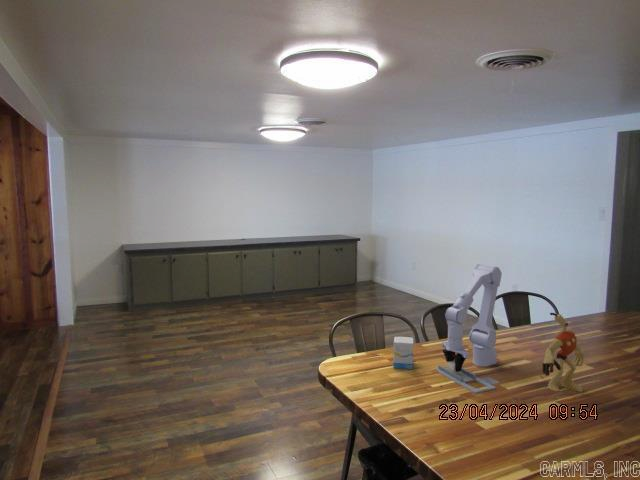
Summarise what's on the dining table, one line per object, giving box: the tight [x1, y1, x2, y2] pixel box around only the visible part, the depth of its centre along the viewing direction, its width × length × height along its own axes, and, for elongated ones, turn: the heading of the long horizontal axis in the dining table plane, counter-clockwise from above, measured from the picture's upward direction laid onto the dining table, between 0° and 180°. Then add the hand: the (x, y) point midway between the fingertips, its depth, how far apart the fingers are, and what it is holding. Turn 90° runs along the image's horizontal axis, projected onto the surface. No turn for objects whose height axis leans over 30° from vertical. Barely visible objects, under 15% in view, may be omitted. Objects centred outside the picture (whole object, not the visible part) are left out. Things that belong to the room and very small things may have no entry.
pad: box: [479, 376, 501, 385], centre depth 173 cm, size 5×6×2 cm
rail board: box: [435, 364, 497, 394], centre depth 175 cm, size 10×23×4 cm, turn 23°
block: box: [446, 360, 461, 374], centre depth 180 cm, size 4×4×4 cm
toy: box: [542, 312, 586, 397], centre depth 164 cm, size 23×9×30 cm, turn 117°
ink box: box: [392, 336, 414, 370], centre depth 193 cm, size 9×8×12 cm
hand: (454, 369), depth 180 cm, fingers open, 4 cm apart
